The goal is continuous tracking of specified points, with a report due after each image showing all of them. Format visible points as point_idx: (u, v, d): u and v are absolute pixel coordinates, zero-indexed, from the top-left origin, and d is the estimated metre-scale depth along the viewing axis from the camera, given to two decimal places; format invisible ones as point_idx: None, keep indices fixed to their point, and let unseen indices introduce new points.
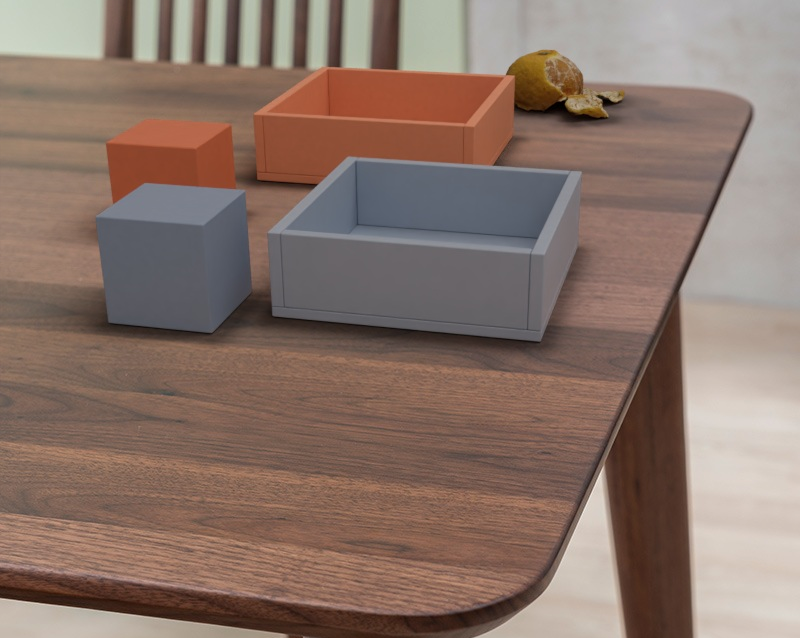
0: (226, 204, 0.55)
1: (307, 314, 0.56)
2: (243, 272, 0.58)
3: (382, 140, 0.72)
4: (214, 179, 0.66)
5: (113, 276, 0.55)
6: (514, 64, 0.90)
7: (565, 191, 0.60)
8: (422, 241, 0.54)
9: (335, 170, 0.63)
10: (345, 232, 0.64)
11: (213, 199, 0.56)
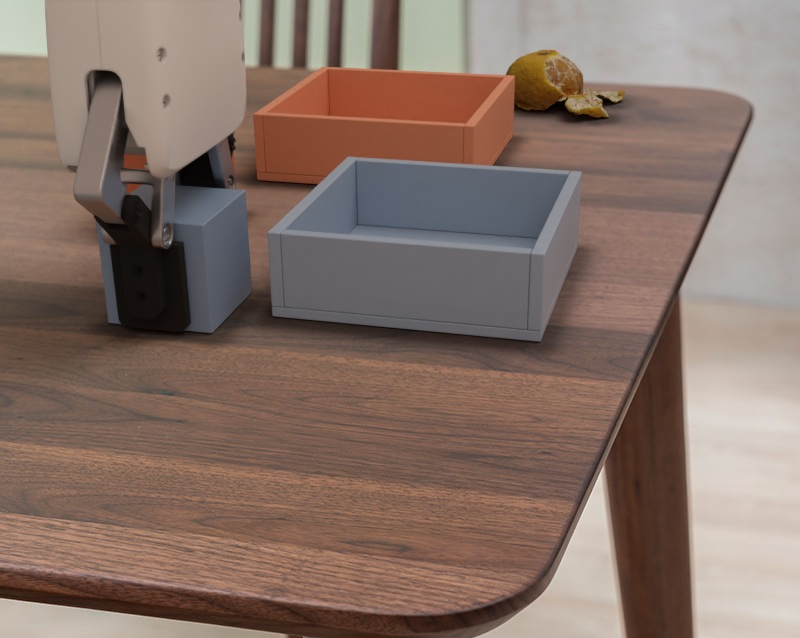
0: (226, 204, 0.55)
1: (307, 314, 0.56)
2: (243, 272, 0.58)
3: (382, 140, 0.72)
4: None
5: None
6: (514, 64, 0.90)
7: (565, 191, 0.60)
8: (422, 241, 0.54)
9: (335, 170, 0.63)
10: (345, 232, 0.64)
11: (213, 199, 0.56)
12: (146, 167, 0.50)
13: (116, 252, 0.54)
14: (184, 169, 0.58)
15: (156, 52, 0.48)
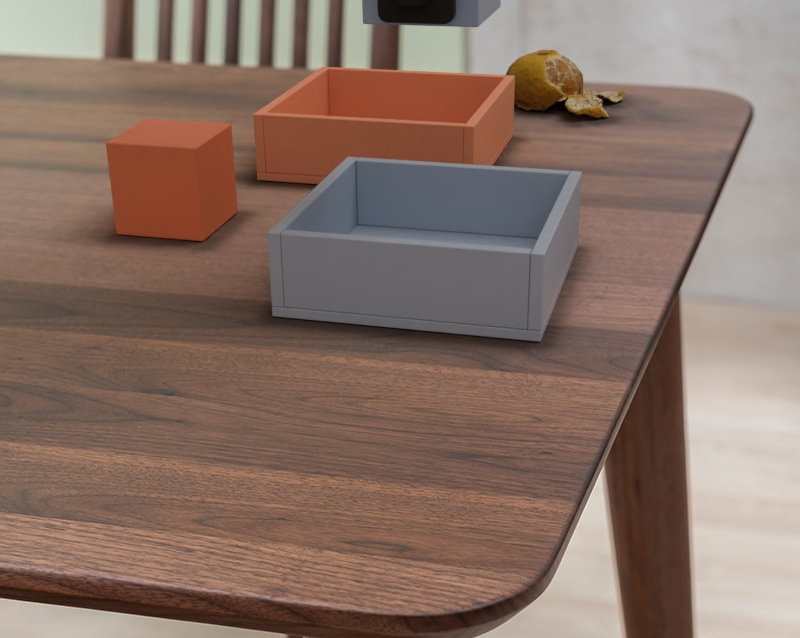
0: None
1: (307, 314, 0.56)
2: None
3: (382, 140, 0.72)
4: (214, 179, 0.66)
5: None
6: (514, 64, 0.90)
7: (565, 191, 0.60)
8: (422, 241, 0.54)
9: (335, 170, 0.63)
10: (345, 232, 0.64)
11: None
12: None
13: None
14: None
15: None
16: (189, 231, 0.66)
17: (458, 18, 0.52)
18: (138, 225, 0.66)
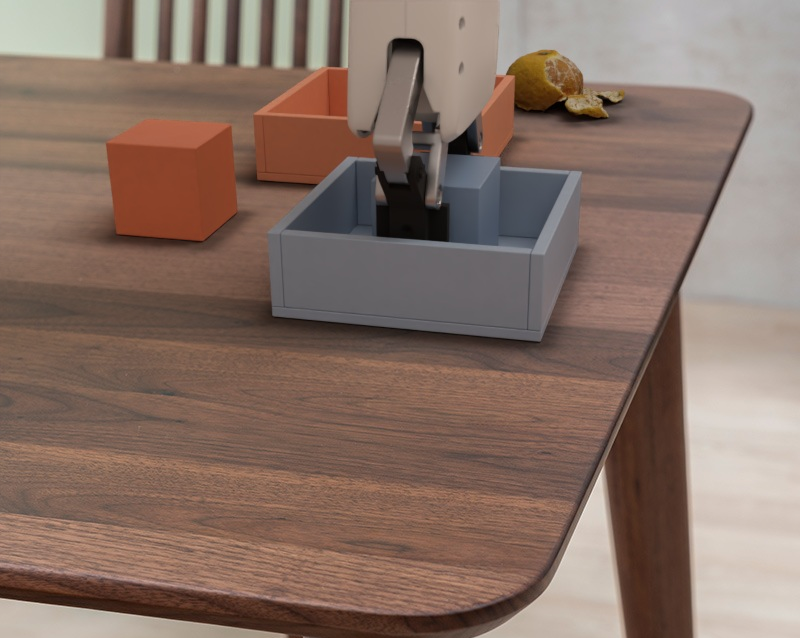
0: (491, 170, 0.58)
1: (307, 314, 0.56)
2: (495, 236, 0.60)
3: None
4: (214, 179, 0.66)
5: None
6: (514, 64, 0.90)
7: (565, 191, 0.60)
8: (422, 241, 0.54)
9: (335, 170, 0.63)
10: (345, 232, 0.64)
11: (475, 165, 0.58)
12: (436, 132, 0.52)
13: (382, 213, 0.55)
14: (436, 127, 0.61)
15: (458, 21, 0.50)
16: (189, 231, 0.66)
17: None
18: (138, 225, 0.66)
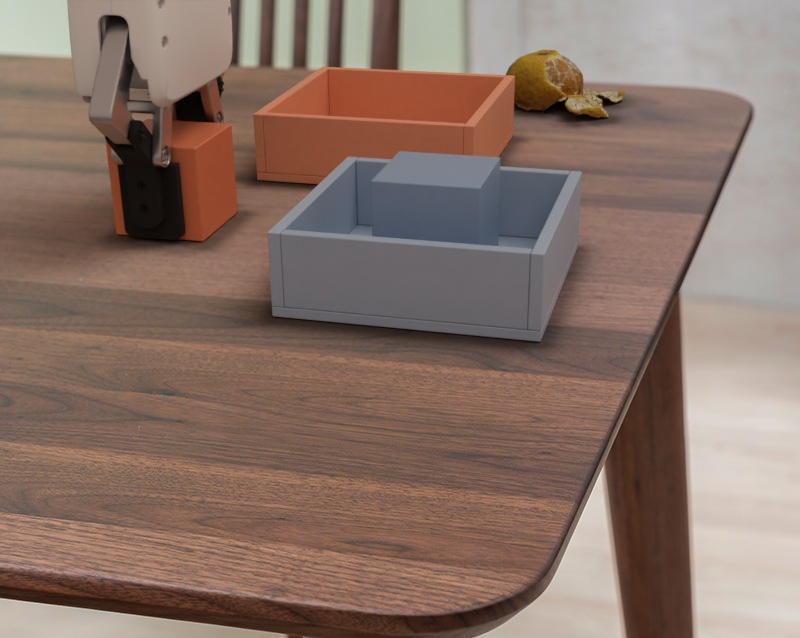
0: (491, 170, 0.58)
1: (307, 314, 0.56)
2: (495, 236, 0.60)
3: (382, 140, 0.72)
4: (214, 179, 0.66)
5: None
6: (514, 64, 0.90)
7: (565, 191, 0.60)
8: (422, 241, 0.54)
9: (335, 170, 0.63)
10: (345, 232, 0.64)
11: (475, 165, 0.58)
12: (148, 97, 0.60)
13: (123, 172, 0.64)
14: (180, 107, 0.69)
15: (156, 0, 0.59)
16: (189, 231, 0.66)
17: None
18: None
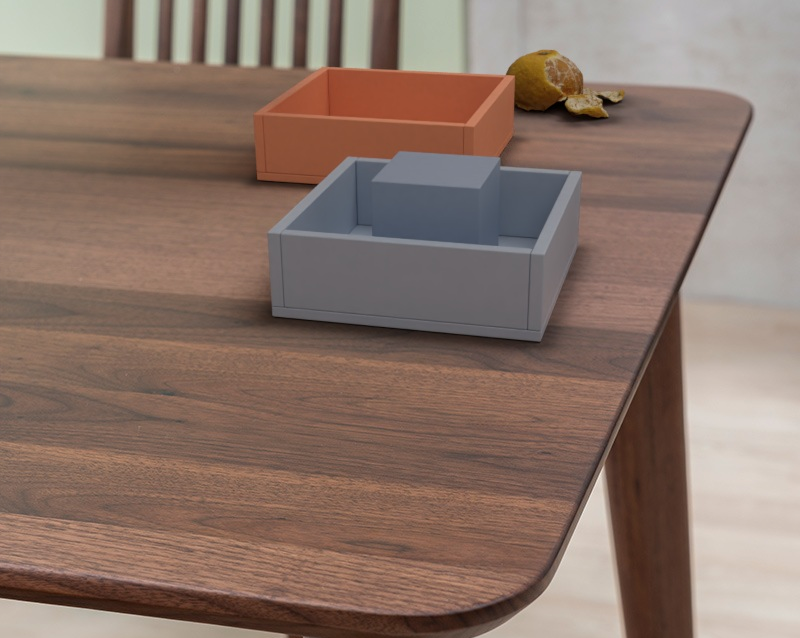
0: (491, 170, 0.58)
1: (307, 314, 0.56)
2: (495, 236, 0.60)
3: (382, 140, 0.72)
4: None
5: None
6: (514, 64, 0.90)
7: (565, 191, 0.60)
8: (422, 241, 0.54)
9: (335, 170, 0.63)
10: (345, 232, 0.64)
11: (475, 165, 0.58)
12: None
13: None
14: None
15: None
16: None
17: None
18: None
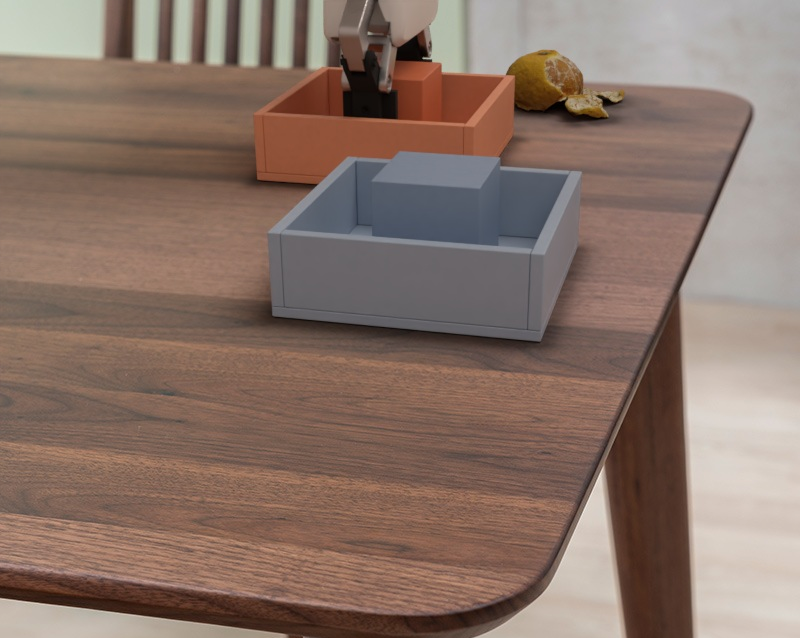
0: (491, 170, 0.58)
1: (307, 314, 0.56)
2: (495, 236, 0.60)
3: (382, 140, 0.72)
4: (431, 109, 0.77)
5: None
6: (514, 64, 0.90)
7: (565, 191, 0.60)
8: (422, 241, 0.54)
9: (335, 170, 0.63)
10: (345, 232, 0.64)
11: (475, 165, 0.58)
12: (388, 37, 0.71)
13: (347, 98, 0.74)
14: None
15: None
16: None
17: None
18: None
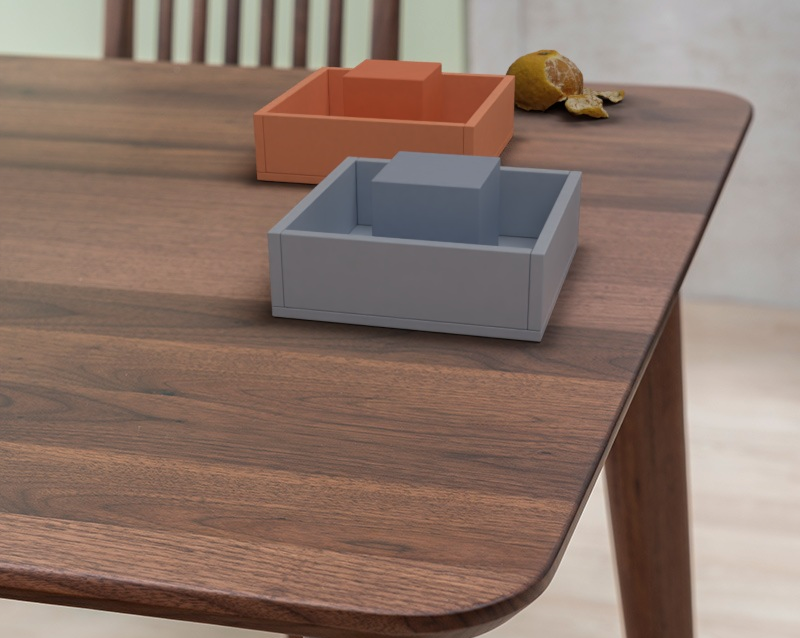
0: (491, 170, 0.58)
1: (307, 314, 0.56)
2: (495, 236, 0.60)
3: (382, 140, 0.72)
4: (431, 109, 0.77)
5: None
6: (514, 64, 0.90)
7: (565, 191, 0.60)
8: (422, 241, 0.54)
9: (335, 170, 0.63)
10: (345, 232, 0.64)
11: (475, 165, 0.58)
12: None
13: None
14: None
15: None
16: None
17: None
18: None
